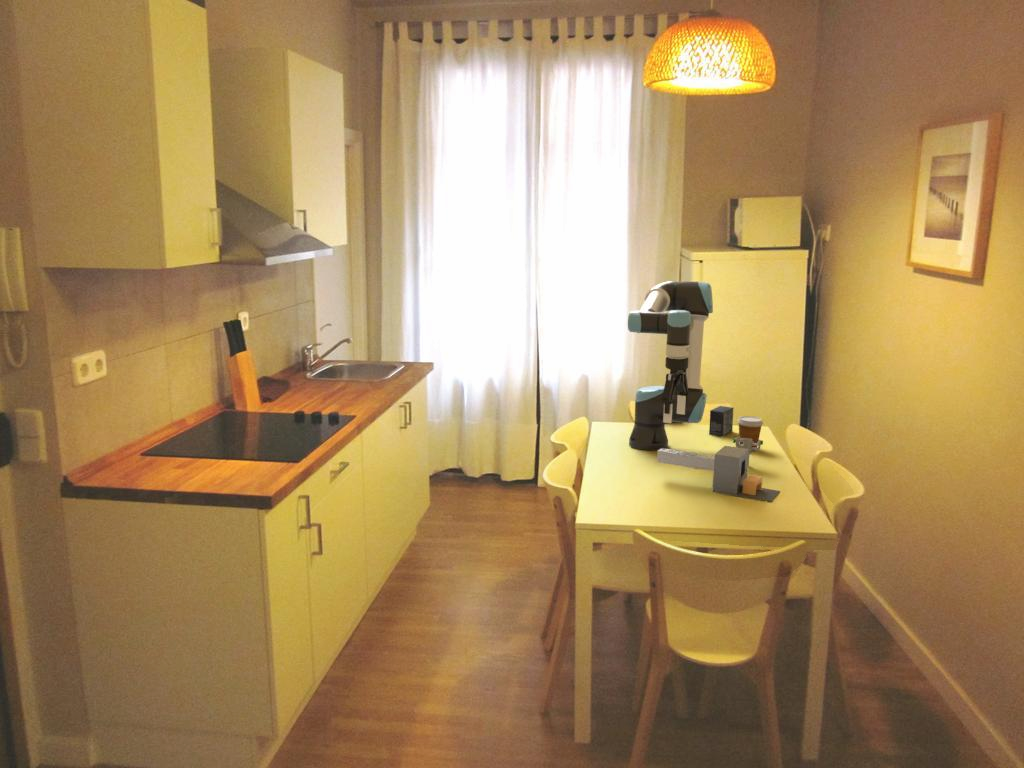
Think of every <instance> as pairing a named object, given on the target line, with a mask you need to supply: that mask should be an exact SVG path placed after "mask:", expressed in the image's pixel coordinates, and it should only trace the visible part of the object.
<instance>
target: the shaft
mask: <svg viewBox="0 0 1024 768" xmlns="http://www.w3.org/2000/svg"><path fill="white" fill-rule="evenodd" d="M656 455H657V456H656V457H657V459H656V462H657V463H661V464H666V465H673V466H679V467H684V468H685V467H686V468H692V469H698V470H704V471H710V472H714V459H715V455H709V454H703V453H696V452H689V451H683V450H677V449H676V450H675V449H671V448H665V449H664V448H661V449H660V450H657V454H656Z"/></svg>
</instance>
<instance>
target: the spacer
mask: <svg viewBox="0 0 1024 768" xmlns="http://www.w3.org/2000/svg"><path fill="white" fill-rule="evenodd" d="M763 479H764V478H763V476H760V475H754V474H750V475H747V478H746V479H744V480H743V493H746V494H750V495H756V490H760V491H761V490H762V488H763Z"/></svg>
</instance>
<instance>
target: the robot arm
mask: <svg viewBox="0 0 1024 768" xmlns="http://www.w3.org/2000/svg"><path fill="white" fill-rule="evenodd" d="M713 302H714V300H713V292H712V285H711V284H710V283H709V282H705V281H704V282H703V281H676V280H669V281H665V282H661V283H659V284H657V285H655V286H653V287H652V288H650V289H649V290H648V291H647V293H646V294H645V296H644V303H643V304H642V306H641V308H640V309H639V310H632V311H630V312H629V313H628V317H627V329H628V331H629V332H630V333H637V334H659V335H660V334H661V335H666V345H665V346H666V347H665V356H666V357H665V365H664V366H665V368H666V369H668V370H670V371H669V373H666V374H665V381H664V382H665V383H664V385H651V386H649V385H647V386H643V387H641V388H639V389H637V390H636V391H635V399H634V425H633V428H632V431H631V433H630V436H629V438H628V439H629V440H628V445H629V446H630V447H631V448H633V449H636V450H637V449H638V450H643V451H644V450H645V451H658V450H660V449H661V448H664V449H668V448H669V447H668V446H669V439H668V435H667V431H666V429H665V426H666V425H665V424H672V422H676V423H685V424H686V423H687V424H699V423H700V422H701V421H702V420H703V416H704V413H705V407H706V403H707V394H706V393H705V392H704V388H703V386H701V383H700V382H701V381H700V380H701V367H702V356H703V355H702V354H703V340H704V329H705V326H704V325H705V321H707V320H708V319H709V317H710V315H709V314H712V313H713V312H714V308H713V307H714V306H713V305H714V304H713Z"/></svg>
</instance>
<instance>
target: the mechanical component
mask: <svg viewBox="0 0 1024 768" xmlns="http://www.w3.org/2000/svg"><path fill="white" fill-rule="evenodd" d="M740 442H743V444H740ZM732 443H733V444H735V447H738V448H745V449H749V454H748V466H749V465H750V463H749V462H750V456H751V455H752V451H751V450H754V451H755V452H756V451H757V452H758V451H760V450H761V445H762V446H763V444H764V440H761V439H759V440H758V442H757V443H753V441H752V439H751V438H739V437H738V436H737V437H735V438H733V440H732ZM752 446H757V448H752Z"/></svg>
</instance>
